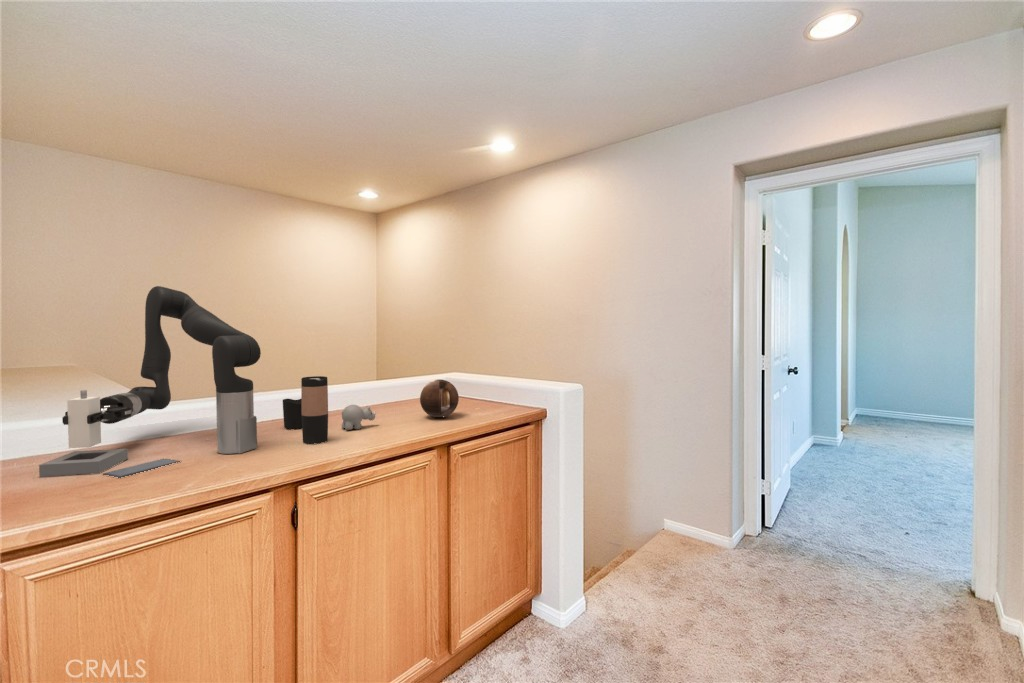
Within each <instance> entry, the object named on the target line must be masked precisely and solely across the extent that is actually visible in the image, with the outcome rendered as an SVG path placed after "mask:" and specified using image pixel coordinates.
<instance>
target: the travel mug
mask: <svg viewBox="0 0 1024 683" xmlns="http://www.w3.org/2000/svg"><path fill="white" fill-rule="evenodd" d="M300 383H301V384H300V386H301V388H300V389H301V397H300V399H301V400H302V429H301V431H302V432H301V433H302V443H303V444H304V443H307V444H306V445H315V444H314V443H319V444H322V443H321V442H324V443H326V442H328V440H329V439H328V438H329V436H328V435H329V392H328V391H329V390H328V386H329V385H328V384H329V383H328V377H327V376H323V375H322V376H320V375H317V376H314V375H313V376H304V377H301V381H300ZM325 441H326V442H325Z"/></svg>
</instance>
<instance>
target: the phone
mask: <svg viewBox="0 0 1024 683" xmlns="http://www.w3.org/2000/svg"><path fill="white" fill-rule="evenodd" d="M180 461H181V460H178V459H172V460H171V458H165V459H164V458H160V460H159V459H155V460H152V461H148V462H144V463H140V464H136V465H132V466H128V467H124V468H119V469H115V470H110V471H107V472H102V474H103V475H102V476H104V475H109V476H114V477H118V478H117V479H119V478H120V479H122V478H121V477H124V478H126V477H125V476H128V477H130V476H129V475H131V476H134V475H133V474H135V475H137V474H136V473H139V474H141V473H140V472H143V473H145V472H144V471H146V472H149V471H148V470H150V471H152V470H151V469H154V470H156V469H155V468H158V467H161V466H165V465H169V464H172V463H176V462H180ZM180 463H181V462H180ZM169 466H170V465H169ZM165 467H166V466H165ZM158 469H159V468H158ZM109 476H108V477H109ZM114 477H113V478H114Z"/></svg>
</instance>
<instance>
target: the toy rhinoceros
mask: <svg viewBox="0 0 1024 683" xmlns="http://www.w3.org/2000/svg"><path fill="white" fill-rule="evenodd" d="M376 415H377V411H376V410H374V411H372V409H371V407H370V406H369V407H368V405H366V406H365V407H364V408H362V407H361V406H359V405H357V404H349V405H347V406H345V408H344V409H343V410H342V411H341V419H342V423H341V429H343V428H345V429H344V430H345V431H346V430H347V431H350V430H360V428H361V429H362V423H361V422H362V421H363V420H366V421H374V420H375V418H376ZM353 427H354V428H353Z"/></svg>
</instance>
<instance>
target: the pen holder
mask: <svg viewBox="0 0 1024 683" xmlns="http://www.w3.org/2000/svg"><path fill="white" fill-rule="evenodd" d="M282 413H283V414H282V416H283V427H284V429H285V428H286V430H291V429H294V430H302V429H301V428H302V400H301V398H299V399H292V398H284V399H282Z"/></svg>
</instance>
